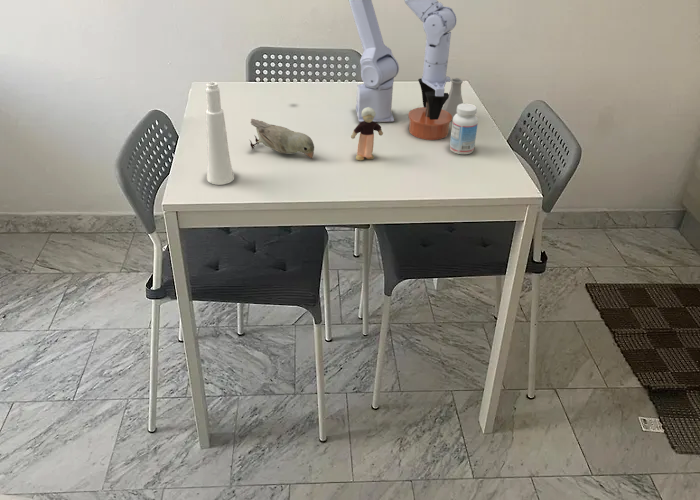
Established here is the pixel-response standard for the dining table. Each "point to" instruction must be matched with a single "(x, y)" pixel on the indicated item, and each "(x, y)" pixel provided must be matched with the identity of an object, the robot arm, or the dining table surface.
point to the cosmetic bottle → (217, 139)
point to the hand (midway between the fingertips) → (430, 112)
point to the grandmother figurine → (366, 134)
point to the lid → (423, 118)
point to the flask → (454, 97)
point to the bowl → (428, 131)
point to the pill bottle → (464, 129)
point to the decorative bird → (282, 139)
